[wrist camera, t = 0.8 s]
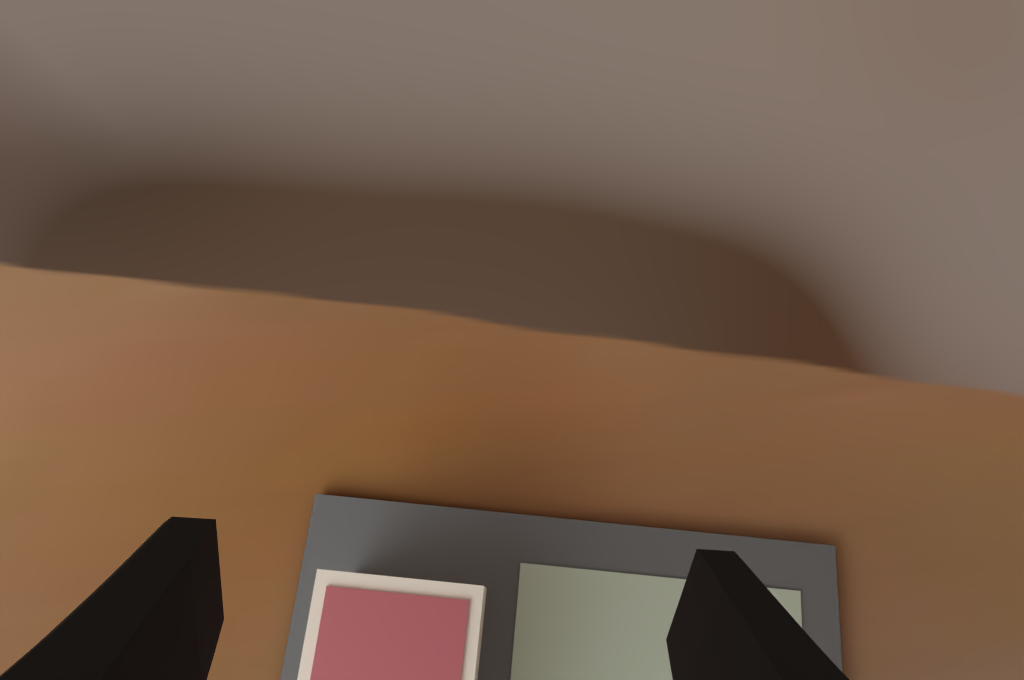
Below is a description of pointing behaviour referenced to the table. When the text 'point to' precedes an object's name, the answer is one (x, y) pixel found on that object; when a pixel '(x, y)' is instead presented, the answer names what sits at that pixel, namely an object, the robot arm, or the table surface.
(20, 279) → the table surface
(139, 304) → the table surface
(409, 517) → the mat
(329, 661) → the card box
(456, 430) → the table surface
